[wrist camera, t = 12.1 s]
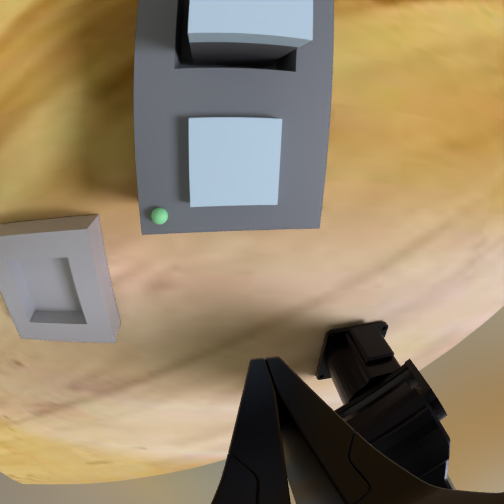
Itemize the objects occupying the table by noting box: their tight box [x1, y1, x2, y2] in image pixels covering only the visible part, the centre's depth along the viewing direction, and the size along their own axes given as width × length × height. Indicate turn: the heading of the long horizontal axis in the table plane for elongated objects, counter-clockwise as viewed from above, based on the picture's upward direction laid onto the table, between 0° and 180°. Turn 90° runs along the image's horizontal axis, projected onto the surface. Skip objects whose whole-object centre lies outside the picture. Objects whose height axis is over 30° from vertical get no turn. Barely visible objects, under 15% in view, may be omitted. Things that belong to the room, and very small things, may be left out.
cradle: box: [0, 215, 121, 343], centre depth 19 cm, size 9×9×2 cm
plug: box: [188, 0, 313, 67], centre depth 10 cm, size 4×4×8 cm
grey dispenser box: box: [134, 0, 334, 235], centre depth 14 cm, size 14×9×6 cm, turn 178°
